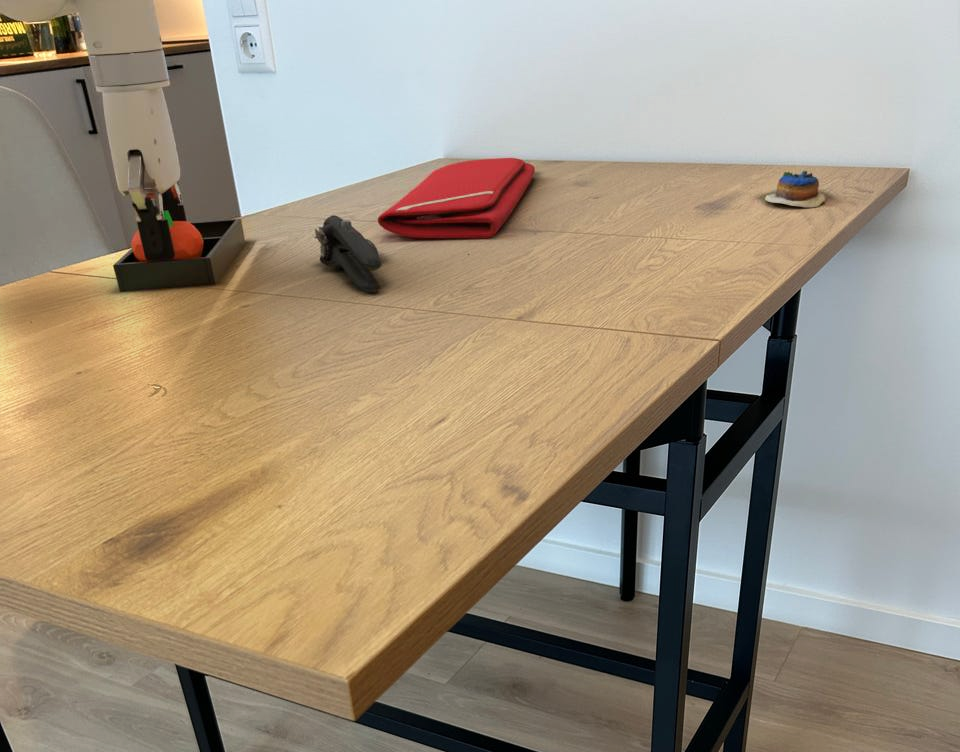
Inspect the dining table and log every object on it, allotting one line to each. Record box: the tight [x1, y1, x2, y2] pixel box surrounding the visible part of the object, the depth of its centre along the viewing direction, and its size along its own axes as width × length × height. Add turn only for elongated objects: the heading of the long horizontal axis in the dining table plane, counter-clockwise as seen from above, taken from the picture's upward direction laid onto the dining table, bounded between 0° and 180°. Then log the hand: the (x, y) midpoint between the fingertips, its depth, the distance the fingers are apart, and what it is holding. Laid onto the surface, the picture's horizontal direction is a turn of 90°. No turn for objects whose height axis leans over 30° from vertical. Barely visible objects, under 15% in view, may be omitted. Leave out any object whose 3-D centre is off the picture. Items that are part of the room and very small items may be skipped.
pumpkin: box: [131, 210, 203, 262], centre depth 113 cm, size 7×8×6 cm
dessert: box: [764, 170, 826, 208], centre depth 129 cm, size 8×7×6 cm
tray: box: [112, 218, 246, 293], centre depth 119 cm, size 11×21×4 cm, turn 2°
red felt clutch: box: [377, 157, 536, 239], centre depth 140 cm, size 16×41×4 cm, turn 171°
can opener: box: [313, 214, 383, 293], centre depth 111 cm, size 18×7×6 cm, turn 17°
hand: (168, 249), depth 114 cm, fingers closed on pumpkin, 7 cm apart
